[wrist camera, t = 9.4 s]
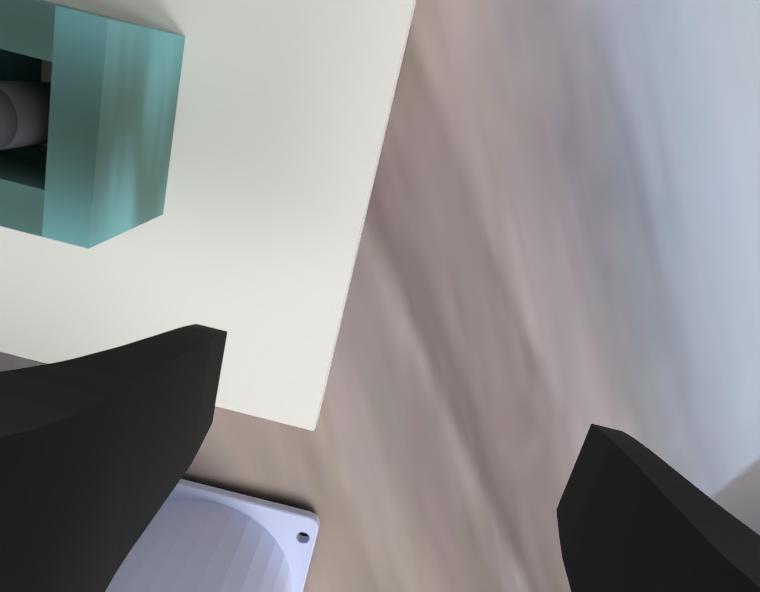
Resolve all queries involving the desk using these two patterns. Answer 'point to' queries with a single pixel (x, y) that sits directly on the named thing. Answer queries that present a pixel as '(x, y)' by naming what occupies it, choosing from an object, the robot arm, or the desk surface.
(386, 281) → the desk surface
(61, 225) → the teal hollow square tube
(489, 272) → the desk surface
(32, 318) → the white square slab
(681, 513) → the robot arm
